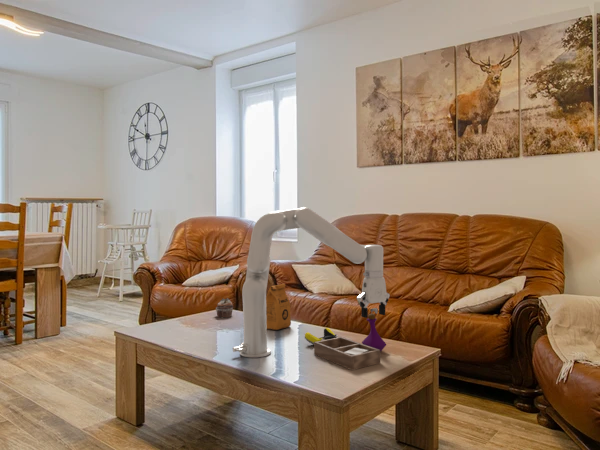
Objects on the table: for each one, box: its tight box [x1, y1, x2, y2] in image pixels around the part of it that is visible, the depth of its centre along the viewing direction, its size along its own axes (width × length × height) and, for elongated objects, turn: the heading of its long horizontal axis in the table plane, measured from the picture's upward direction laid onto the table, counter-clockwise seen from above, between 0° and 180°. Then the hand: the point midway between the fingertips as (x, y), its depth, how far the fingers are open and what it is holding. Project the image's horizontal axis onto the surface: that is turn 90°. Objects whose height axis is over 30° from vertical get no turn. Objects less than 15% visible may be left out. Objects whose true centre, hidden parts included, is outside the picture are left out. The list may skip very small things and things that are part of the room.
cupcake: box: [215, 297, 234, 318], centre depth 269 cm, size 10×10×10 cm
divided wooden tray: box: [313, 336, 381, 371], centre depth 187 cm, size 14×24×5 cm, turn 33°
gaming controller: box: [304, 327, 339, 345], centre depth 209 cm, size 15×6×10 cm
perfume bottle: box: [361, 307, 387, 353], centre depth 196 cm, size 8×8×18 cm
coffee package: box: [266, 283, 292, 331], centre depth 238 cm, size 10×12×22 cm
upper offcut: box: [345, 348, 368, 355], centre depth 182 cm, size 8×6×2 cm
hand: (373, 315), depth 196 cm, fingers open, 9 cm apart
